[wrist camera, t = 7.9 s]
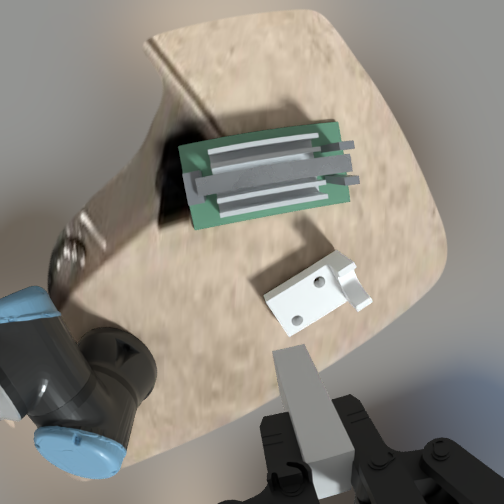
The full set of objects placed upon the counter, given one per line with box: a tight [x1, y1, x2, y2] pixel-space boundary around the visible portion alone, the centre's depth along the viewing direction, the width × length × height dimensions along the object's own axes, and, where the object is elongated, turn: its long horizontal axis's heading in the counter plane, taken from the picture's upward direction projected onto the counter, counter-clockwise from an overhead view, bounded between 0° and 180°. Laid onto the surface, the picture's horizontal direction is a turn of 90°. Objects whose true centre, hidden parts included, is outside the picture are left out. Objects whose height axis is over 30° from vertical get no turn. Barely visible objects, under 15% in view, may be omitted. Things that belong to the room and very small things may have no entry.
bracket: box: [264, 250, 373, 337], centre depth 45 cm, size 13×7×8 cm, turn 121°
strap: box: [195, 154, 353, 197], centre depth 37 cm, size 19×2×1 cm, turn 100°
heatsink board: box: [178, 122, 360, 230], centre depth 39 cm, size 23×12×8 cm, turn 100°
